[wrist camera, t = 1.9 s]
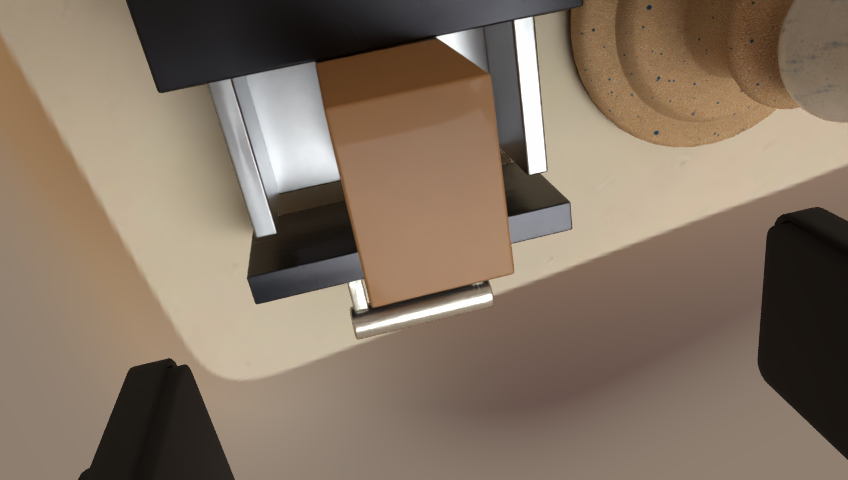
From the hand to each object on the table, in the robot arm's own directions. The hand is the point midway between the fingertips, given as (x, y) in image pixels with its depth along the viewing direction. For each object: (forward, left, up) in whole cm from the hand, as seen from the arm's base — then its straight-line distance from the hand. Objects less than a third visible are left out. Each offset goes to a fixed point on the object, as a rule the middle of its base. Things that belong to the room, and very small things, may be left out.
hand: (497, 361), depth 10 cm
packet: (0, 0, -18) cm, 18 cm away
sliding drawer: (0, -2, -19) cm, 19 cm away
